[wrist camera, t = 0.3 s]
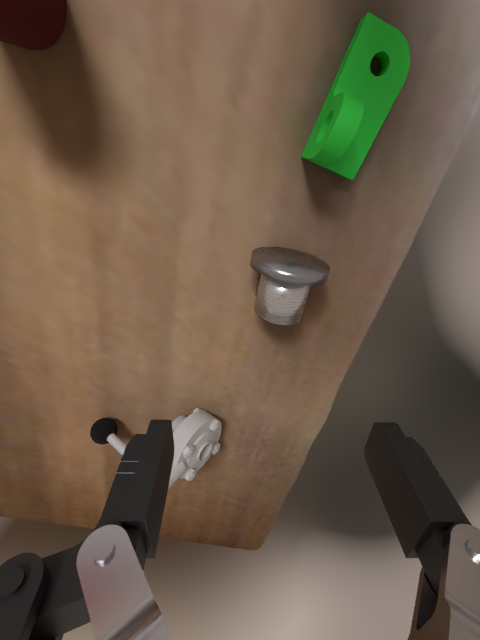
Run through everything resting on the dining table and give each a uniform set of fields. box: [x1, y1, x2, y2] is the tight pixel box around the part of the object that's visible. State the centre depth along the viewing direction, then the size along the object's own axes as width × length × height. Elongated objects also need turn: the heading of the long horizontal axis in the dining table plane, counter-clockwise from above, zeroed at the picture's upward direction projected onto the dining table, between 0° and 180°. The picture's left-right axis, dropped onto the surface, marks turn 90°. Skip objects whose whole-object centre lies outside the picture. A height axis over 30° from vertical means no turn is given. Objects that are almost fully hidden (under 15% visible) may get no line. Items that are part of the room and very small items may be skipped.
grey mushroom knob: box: [250, 247, 330, 325], centre depth 36 cm, size 7×9×9 cm
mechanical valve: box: [90, 408, 222, 488], centre depth 50 cm, size 10×18×15 cm
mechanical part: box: [301, 12, 410, 180], centre depth 28 cm, size 12×6×8 cm, turn 159°
